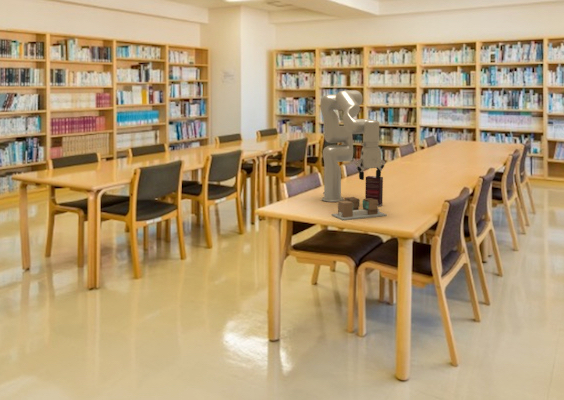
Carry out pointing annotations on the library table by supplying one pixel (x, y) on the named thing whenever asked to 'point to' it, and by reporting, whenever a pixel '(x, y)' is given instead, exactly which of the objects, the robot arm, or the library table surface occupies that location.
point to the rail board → (353, 212)
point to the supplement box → (374, 188)
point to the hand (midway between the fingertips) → (369, 178)
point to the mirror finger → (354, 201)
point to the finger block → (370, 205)
